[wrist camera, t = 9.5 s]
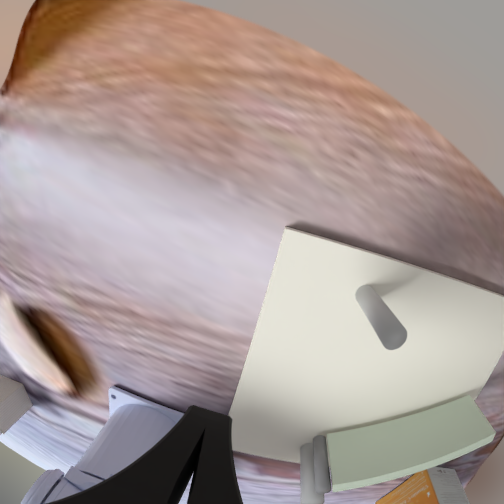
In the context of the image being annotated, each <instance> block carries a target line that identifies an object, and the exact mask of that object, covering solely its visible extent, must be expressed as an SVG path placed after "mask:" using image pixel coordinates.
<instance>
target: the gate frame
mask: <svg viewBox="0 0 504 504" xmlns="http://www.w3.org/2000/svg"><path fill="white" fill-rule="evenodd" d="M503 351H504V295H501V294H498V293H496V292H493V291H490V290H487V289H484V288H481V287H479V286H476V285H473V284H470V283H467V282H464V281H461V280H458V279H455V278H452V277H449V276H446V275H443V274H440V273H437V272H434V271H431V270H428V269H425V268H422V267H419V266H416V265H413V264H410V263H407V262H404V261H400V260H397V259H394V258H391V257H388V256H384V255H381V254H378V253H375V252H372V251H368V250H365V249H362V248H358V247H355V246H352V245H348V244H345V243H342V242H338V241H335V240H332V239H328V238H325V237H321V236H318V235H314V234H311V233H307V232H304V231H300V230H297V229H293V228H290V227H286V226H285V228H284V232H283V236H282V239H281V243H280V246H279V250H278V253H277V257H276V260H275V264H274V267H273V271H272V274H271V278H270V281H269V284H268V288H267V291H266V295H265V298H264V301H263V305H262V308H261V311H260V315H259V318H258V321H257V325H256V328H255V331H254V335H253V338H252V341H251V345H250V348H249V351H248V354H247V358H246V361H245V364H244V367H243V370H242V374H241V377H240V380H239V383H238V386H237V389H236V393H235V396H234V399H233V402H232V405H231V408H230V411H229V414H228V416H230V417H231V418H232V419H233V420H232V434H231V435H232V450H234V451H238V452H243V453H247V454H251V455H256V456H261V457H266V458H271V459H276V460H282V461H288V462H294V463H300V474H301V504H323V503H324V494H318V493H316V492H315V472H314V454H313V438H314V437H315V436H317V435H323V436H325V437H326V444H327V452H328V462H329V467H330V460H329V451H328V442H327V434H330V433H336V432H341V431H347V430H352V429H357V428H362V427H367V426H371V425H375V424H380V423H384V422H388V421H392V420H396V419H399V418H403V417H406V416H410V415H413V414H417V413H420V412H423V411H426V410H429V409H432V408H435V407H438V406H441V405H444V404H447V403H450V402H452V401H455V400H458V399H460V398H463V397H465V396H468V395H470V397H471V398H472V399H473V401H475V400H476V398H477V397H478V395H479V393H480V392H481V390H482V389H483V387H484V385H485V384H486V382H487V380H488V379H489V377H490V375H491V373H492V372H493V370H494V368H495V366H496V364H497V363H498V361H499V359H500V357H501V355H502V353H503Z"/></svg>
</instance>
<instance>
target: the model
mask: <svg viewBox="0 0 504 504" xmlns="http://www.w3.org/2000/svg"><path fill="white" fill-rule="evenodd" d="M32 406H33V404H32V402H31V400H30V398H29V396H28V394H27V392H26V390H25V388H24V385H23V384H22V383H19V382H17V381H14V380H12V379H9V378H7V377H5V376H2V375H0V435H1V434H2V433H3V434H4V433H5V432H6V431H7V430H8V429H9V428H10V427H11V426H12V425H13V424H14V423H16V422H17V421H18V420H19V419H20V418H21V417H22V416H23V415H24V414H25V413H26V412H27V411H28V410H29V409H30V408H31V407H32Z"/></svg>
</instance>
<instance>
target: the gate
mask: <svg viewBox="0 0 504 504" xmlns="http://www.w3.org/2000/svg"><path fill="white" fill-rule="evenodd" d="M495 434H496V432H495V430H494V429H493V427H492V426H491V424H490V423H489V422H488V420H487V419H486V417H485V416H484V414H483V413H482V412H481V410H480V409H479V407H478V406H477V405H476V403H475V402H474V401H473V399H472V398H471V397H470V395H468V396H465V397H463V398H460V399H458V400H455V401H452V402H450V403H447V404H444V405H441V406H438V407H435V408H432V409H429V410H426V411H423V412H420V413H417V414H413V415H410V416H406V417H403V418H399V419H396V420H392V421H388V422H384V423H380V424H375V425H371V426H367V427H362V428H357V429H352V430H347V431H341V432H336V433H330V434H327V442H328V451H329V460H330V469H331V478H332V489H333V492H338V491H344V490H350V489H355V488H360V487H365V486H369V485H374V484H378V483H382V482H386V481H390V480H394V479H397V478H401V477H404V476H408V475H411V474H414V473H417V472H420V471H423V470H426V469H429V468H432V467H435V466H437V465H440V464H443V463H445V462H448V461H450V460H453V459H455V458H458V457H460V456H462V455H465V454H467V453H469V452H471V451H474V450H476V449H478V448H480V447H482V446H484V445H486V444H488V443H490V442H492V441H493V439H494V436H495ZM313 454H314V472H315V492H316V493H318V494H325V493H328V492H330V491H331V482H330V472H329V462H328V452H327V444H326V437H325V436H323V435H317V436H315V437H314V438H313Z"/></svg>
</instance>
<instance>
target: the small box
mask: <svg viewBox="0 0 504 504" xmlns="http://www.w3.org/2000/svg"><path fill="white" fill-rule="evenodd" d="M375 504H470V503H469V501H468V498H467V496H466V494H465V491H464V489H463V487H462V485H461V482H460V480H459V478H458V476H457V473H456V471H455V469H449V468H442V467H436V466H435V467H432V468H429V469H426V470H423V471H420V472H417V473H415V474H414V475H413V476H412V477H410V478H409V479H408V480H406V481H405V482H404V483H402V484H401V485H400V486H398V487H397V488H396V489H394V490H393V491H392V492H390V493H389V494H387V495H386V496H384V497H383V498H381V499H379V500H378V501H376V502H375Z"/></svg>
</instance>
